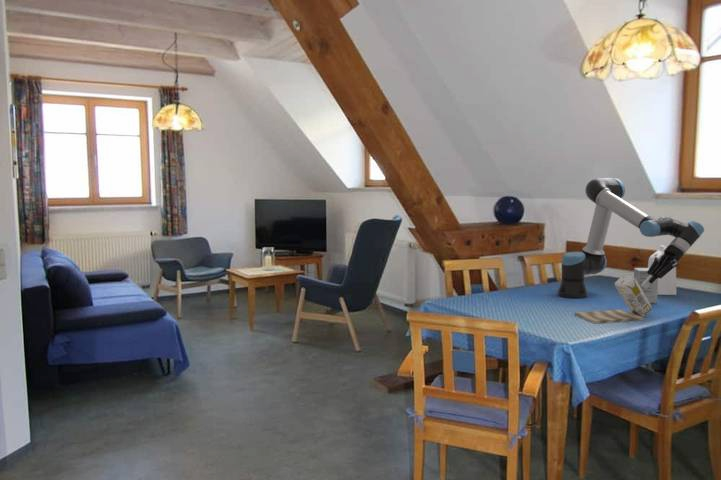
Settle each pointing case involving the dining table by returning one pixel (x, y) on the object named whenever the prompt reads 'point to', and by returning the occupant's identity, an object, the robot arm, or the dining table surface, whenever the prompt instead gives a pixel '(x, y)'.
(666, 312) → the dining table surface
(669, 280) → the milk
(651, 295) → the supplement box
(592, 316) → the wooden board
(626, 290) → the juice carton
